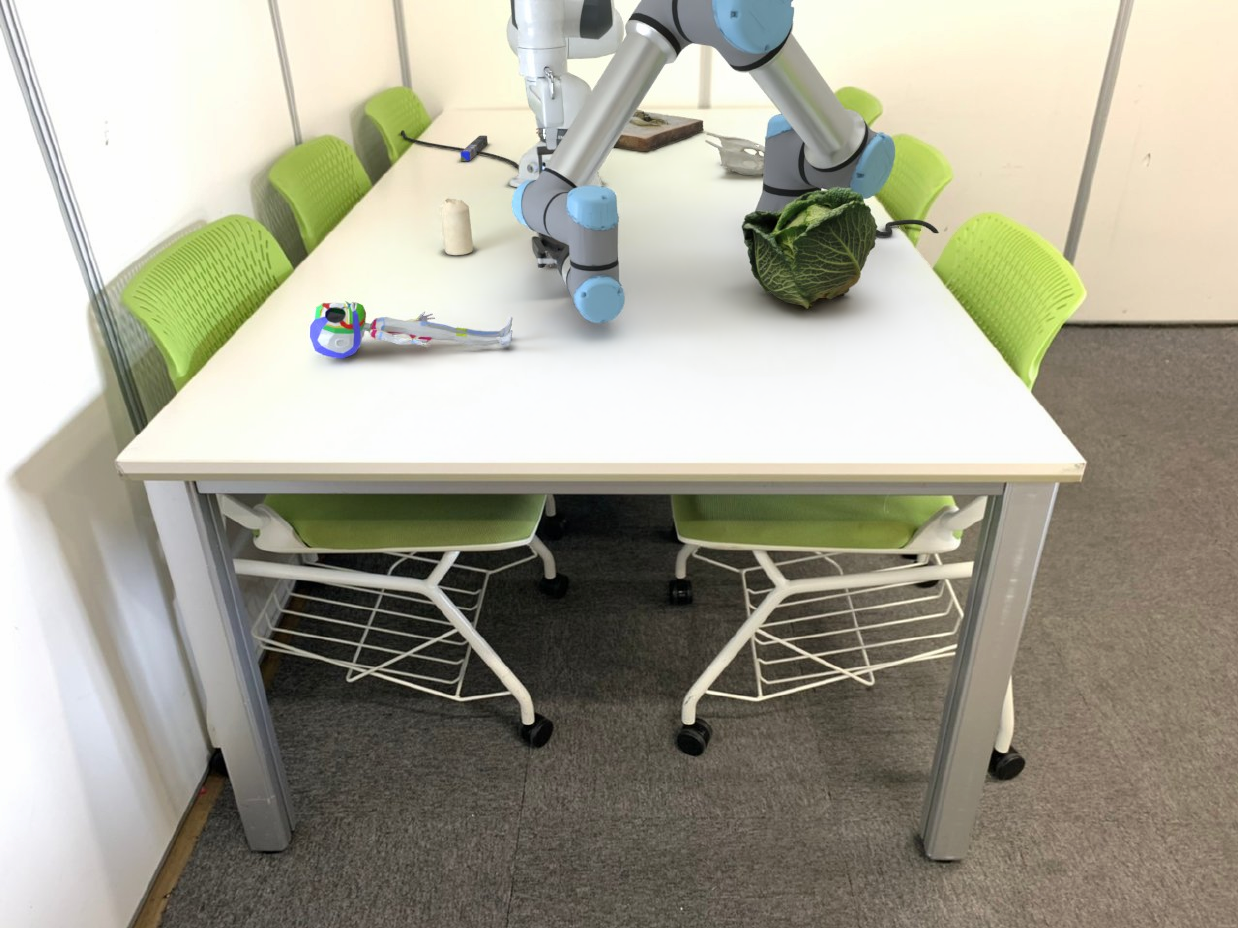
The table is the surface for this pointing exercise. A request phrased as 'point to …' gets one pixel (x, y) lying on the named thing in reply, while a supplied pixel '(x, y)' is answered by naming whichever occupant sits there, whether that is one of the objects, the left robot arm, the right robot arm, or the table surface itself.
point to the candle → (456, 227)
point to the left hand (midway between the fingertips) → (547, 143)
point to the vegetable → (811, 245)
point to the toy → (386, 330)
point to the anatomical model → (739, 155)
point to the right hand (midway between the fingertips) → (559, 228)
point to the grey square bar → (474, 148)
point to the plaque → (656, 130)
